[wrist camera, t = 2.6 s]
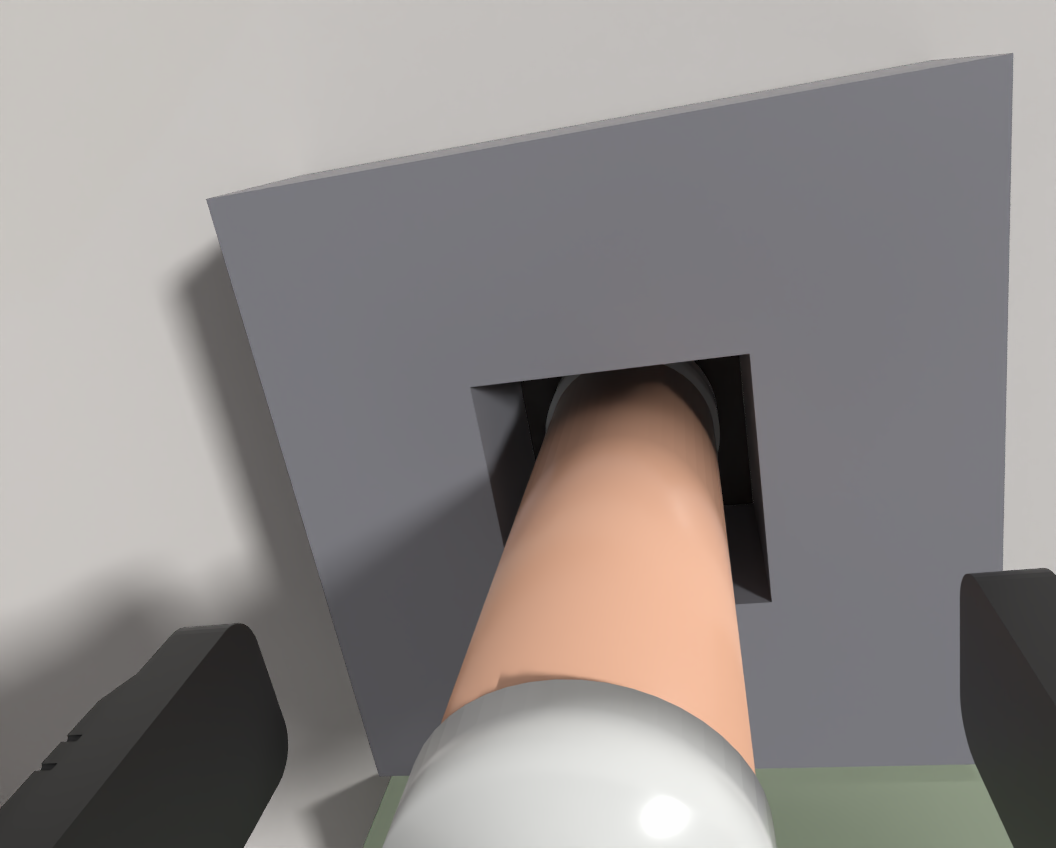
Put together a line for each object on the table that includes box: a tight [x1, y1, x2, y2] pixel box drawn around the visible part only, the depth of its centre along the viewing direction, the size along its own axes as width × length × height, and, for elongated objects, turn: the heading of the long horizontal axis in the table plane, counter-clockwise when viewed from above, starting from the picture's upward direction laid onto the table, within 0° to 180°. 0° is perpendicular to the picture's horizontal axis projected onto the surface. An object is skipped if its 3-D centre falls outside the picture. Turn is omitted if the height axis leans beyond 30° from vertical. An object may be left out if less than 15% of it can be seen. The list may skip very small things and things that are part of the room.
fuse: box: [382, 361, 777, 848], centre depth 12 cm, size 3×3×11 cm
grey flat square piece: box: [206, 53, 1013, 776], centre depth 15 cm, size 11×11×4 cm
